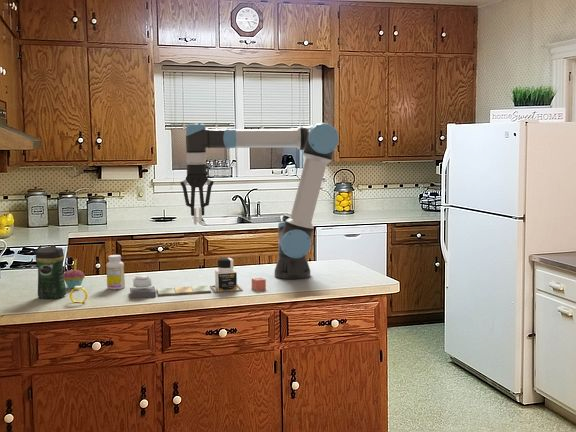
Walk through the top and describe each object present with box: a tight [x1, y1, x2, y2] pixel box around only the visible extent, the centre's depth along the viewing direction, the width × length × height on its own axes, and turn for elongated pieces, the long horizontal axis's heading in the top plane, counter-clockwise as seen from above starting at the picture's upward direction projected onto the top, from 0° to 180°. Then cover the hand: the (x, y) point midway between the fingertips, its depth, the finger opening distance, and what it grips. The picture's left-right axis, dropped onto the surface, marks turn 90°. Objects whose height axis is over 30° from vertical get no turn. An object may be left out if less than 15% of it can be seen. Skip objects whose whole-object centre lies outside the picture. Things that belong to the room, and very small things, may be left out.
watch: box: [69, 285, 89, 304], centre depth 236 cm, size 6×3×6 cm, turn 88°
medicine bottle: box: [214, 257, 238, 291], centre depth 256 cm, size 7×7×12 cm
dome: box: [132, 274, 153, 288], centre depth 247 cm, size 7×7×3 cm
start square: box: [209, 283, 243, 294], centre depth 256 cm, size 11×11×1 cm
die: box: [251, 277, 267, 291], centre depth 255 cm, size 4×4×4 cm
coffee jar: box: [35, 246, 67, 300], centre depth 245 cm, size 10×8×19 cm
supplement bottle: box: [105, 254, 126, 291], centre depth 259 cm, size 7×7×13 cm
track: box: [156, 285, 212, 297], centre depth 252 cm, size 20×10×1 cm, turn 105°
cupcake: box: [63, 259, 86, 289], centre depth 260 cm, size 9×8×12 cm
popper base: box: [129, 286, 157, 300], centre depth 247 cm, size 9×9×2 cm
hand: (197, 223), depth 261 cm, fingers closed
